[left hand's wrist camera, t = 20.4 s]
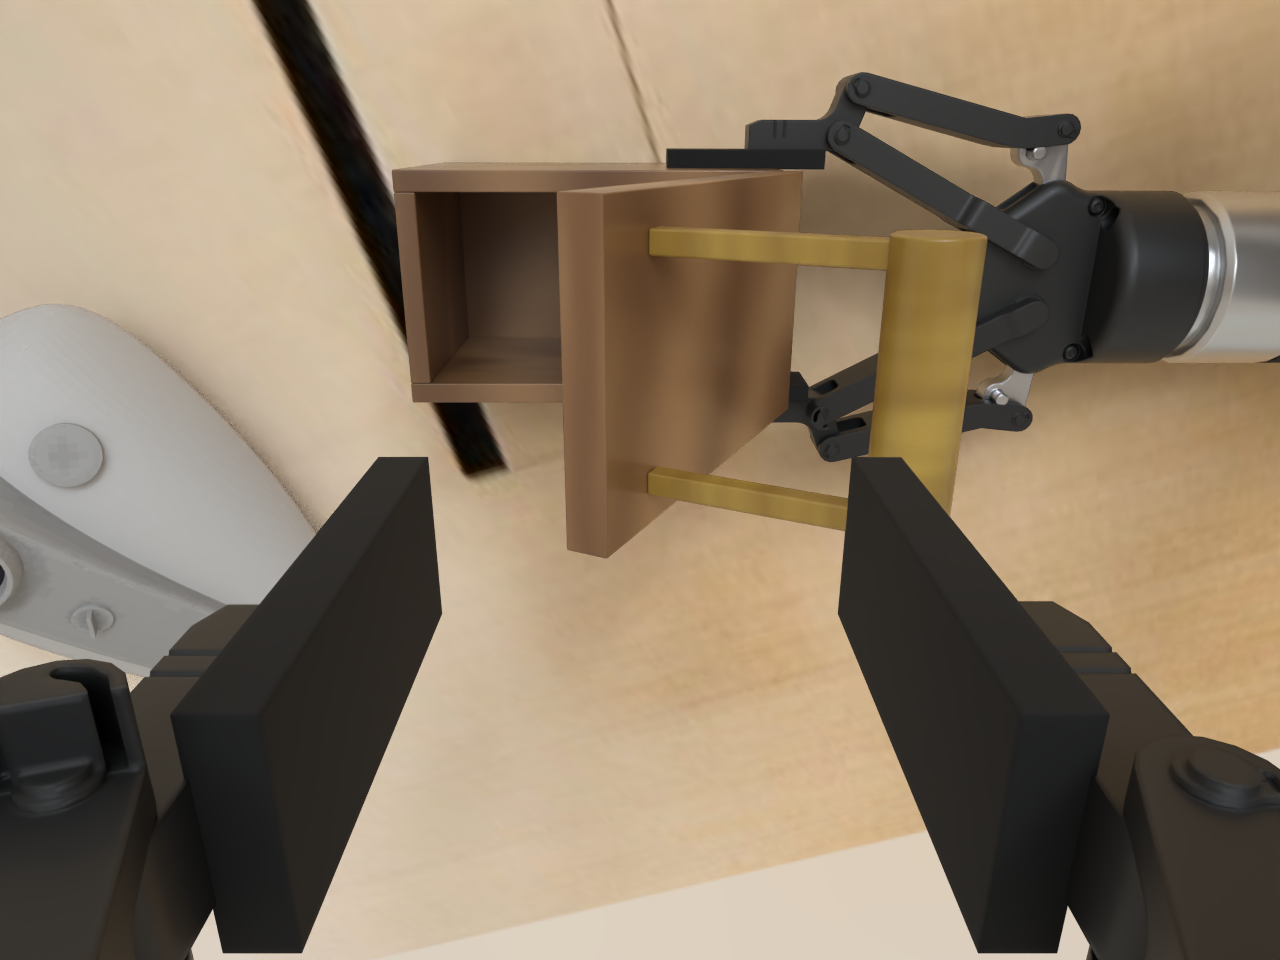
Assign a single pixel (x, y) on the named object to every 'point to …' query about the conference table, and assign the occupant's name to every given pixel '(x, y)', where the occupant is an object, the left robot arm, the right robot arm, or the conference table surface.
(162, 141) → the conference table surface
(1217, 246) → the right robot arm
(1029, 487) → the conference table surface
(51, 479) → the projector
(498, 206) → the chest
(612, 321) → the lid
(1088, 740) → the left robot arm
